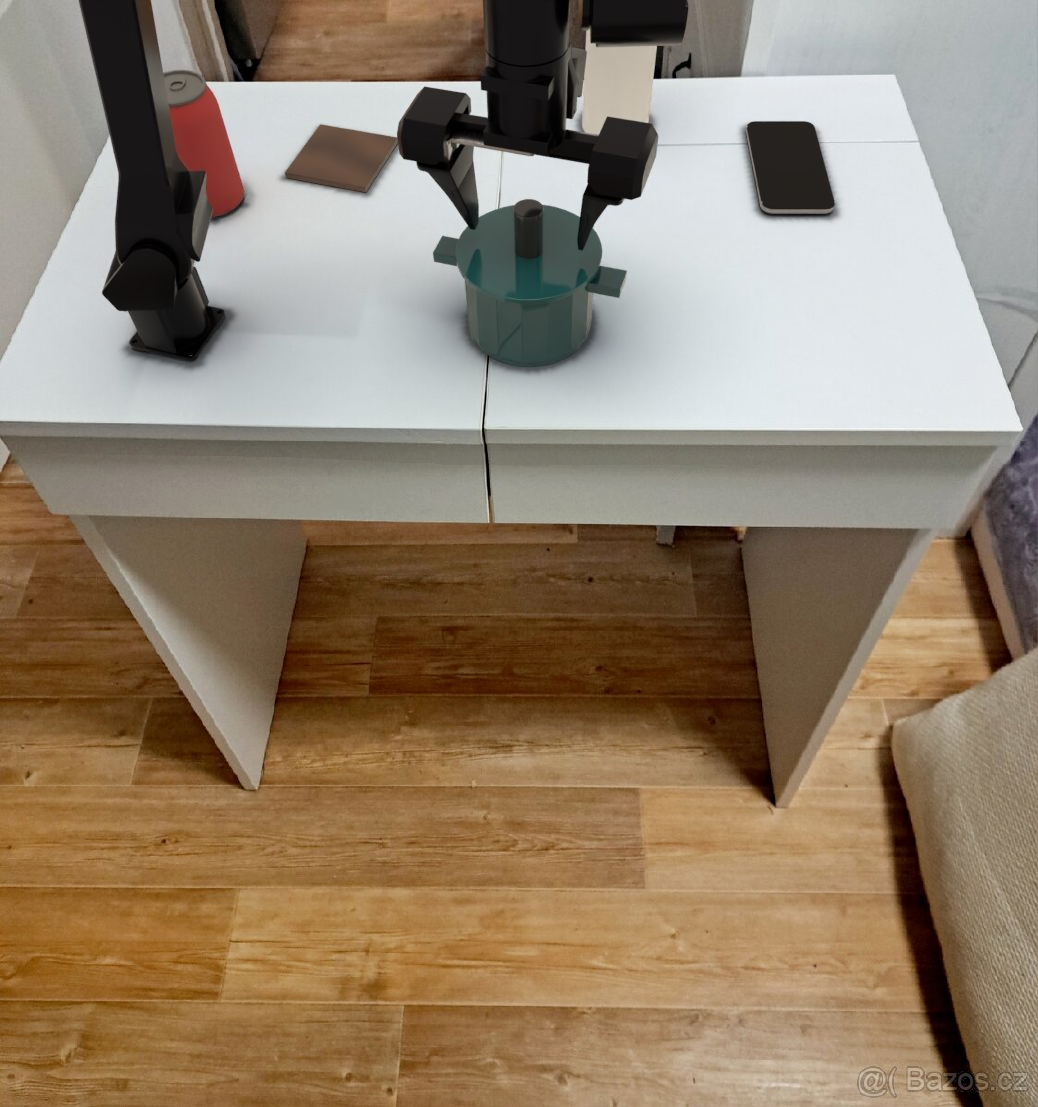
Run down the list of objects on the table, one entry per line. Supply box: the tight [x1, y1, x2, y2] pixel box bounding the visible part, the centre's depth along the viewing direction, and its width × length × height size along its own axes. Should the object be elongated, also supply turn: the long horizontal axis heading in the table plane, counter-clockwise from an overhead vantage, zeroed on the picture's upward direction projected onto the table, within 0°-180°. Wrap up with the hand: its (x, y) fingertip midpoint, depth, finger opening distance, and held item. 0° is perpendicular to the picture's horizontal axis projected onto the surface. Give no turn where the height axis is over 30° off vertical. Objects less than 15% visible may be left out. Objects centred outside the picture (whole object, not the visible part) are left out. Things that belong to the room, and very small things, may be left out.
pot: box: [432, 235, 628, 367], centre depth 80 cm, size 11×16×8 cm
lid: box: [456, 198, 603, 304], centre depth 75 cm, size 12×12×5 cm
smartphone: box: [745, 120, 836, 215], centre depth 95 cm, size 7×1×15 cm
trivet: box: [284, 124, 398, 193], centre depth 97 cm, size 9×9×1 cm
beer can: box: [163, 69, 245, 218], centre depth 89 cm, size 7×7×12 cm
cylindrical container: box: [581, 29, 658, 135], centre depth 89 cm, size 7×7×25 cm
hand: (527, 236), depth 75 cm, fingers open, 9 cm apart
